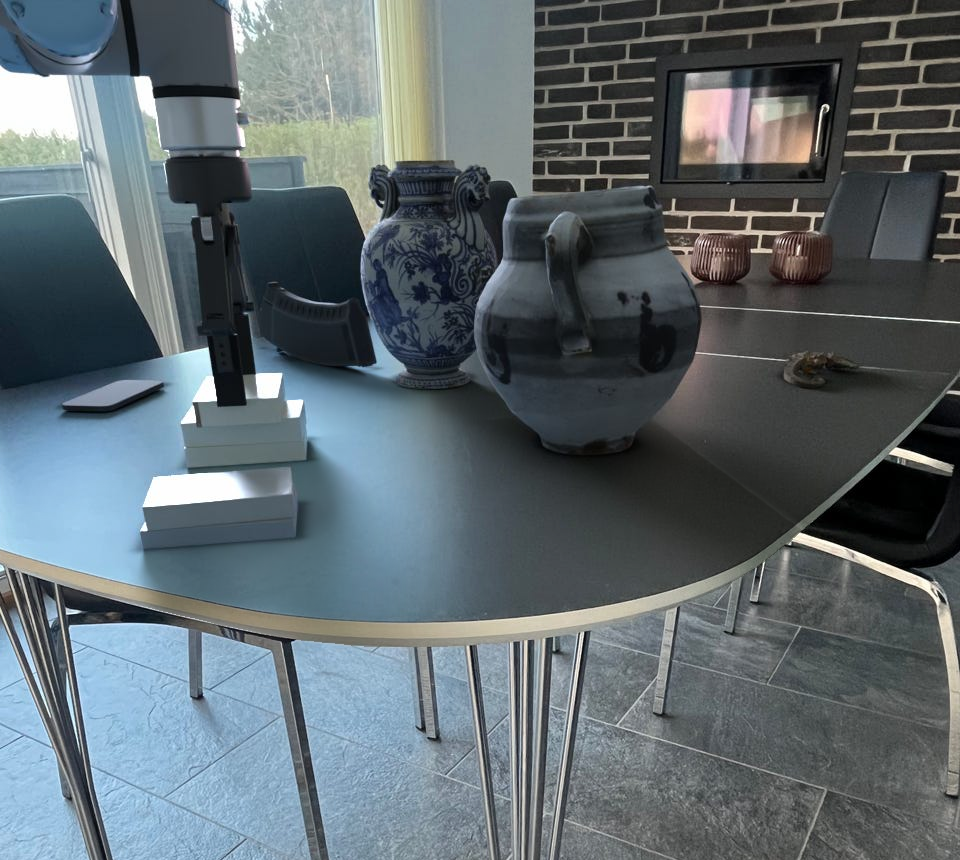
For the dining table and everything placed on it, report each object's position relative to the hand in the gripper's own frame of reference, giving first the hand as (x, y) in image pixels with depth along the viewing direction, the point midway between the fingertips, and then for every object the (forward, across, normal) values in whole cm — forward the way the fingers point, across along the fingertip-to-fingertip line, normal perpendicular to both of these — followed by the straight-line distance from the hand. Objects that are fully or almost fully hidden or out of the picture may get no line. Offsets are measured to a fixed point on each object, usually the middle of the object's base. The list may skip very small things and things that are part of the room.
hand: (238, 390), depth 89 cm
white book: (+2, 0, 0) cm, 2 cm away
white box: (+7, -22, 0) cm, 23 cm away
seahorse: (+6, +23, -78) cm, 81 cm away
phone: (+7, +33, +20) cm, 39 cm away
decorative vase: (+7, +33, -24) cm, 41 cm away
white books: (+7, 0, 0) cm, 7 cm away
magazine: (+7, +54, -7) cm, 55 cm away
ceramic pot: (+7, -4, -36) cm, 37 cm away
